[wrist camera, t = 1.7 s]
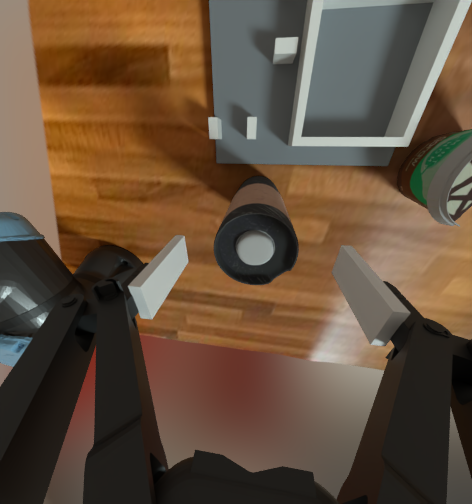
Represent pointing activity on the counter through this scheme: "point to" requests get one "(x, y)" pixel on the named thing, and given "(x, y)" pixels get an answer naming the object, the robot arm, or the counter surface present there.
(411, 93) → the end holder
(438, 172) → the food container
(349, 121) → the grey fixture board
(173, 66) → the counter surface
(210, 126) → the clips
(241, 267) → the travel mug
